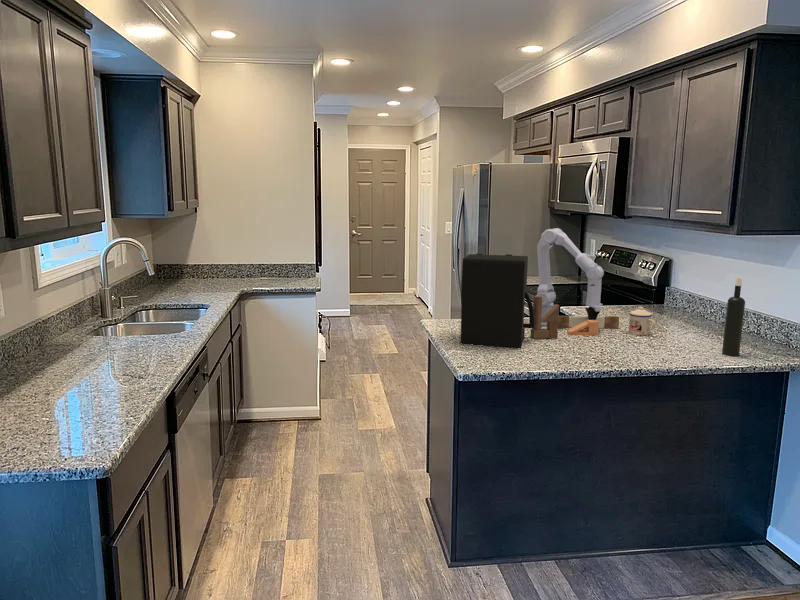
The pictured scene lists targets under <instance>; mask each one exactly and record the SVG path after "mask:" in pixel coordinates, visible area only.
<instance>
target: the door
mask: <svg viewBox="0 0 800 600" xmlns="http://www.w3.org/2000/svg"><path fill="white" fill-rule="evenodd" d="M586 320H588V315H587V316H583V315H582V316H573V315H572V316H570V321H569V328H570V327H571V328H573V327H575V326H577V325H579V324H581V323H583V322H585V321H586ZM596 320H597V321H598V322H599V329H604V323H605V316H597V319H596ZM571 328H570V329H571ZM584 329H586V327H585V328H584Z"/></svg>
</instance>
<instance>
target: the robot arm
mask: <svg viewBox="0 0 800 600" xmlns="http://www.w3.org/2000/svg"><path fill="white" fill-rule="evenodd" d="M554 245H558V246H562V247H564V249H566V251H568V252H569V254H571V255H572V256H573V257H574V259H575V264H576V265H578V266H579V268H580V269H581V270H582V271H583V272H585V276H586V277H587V294H586V301H585V306H586V307H585V308H584V309H585V311H586V314H587V316H588V320H596V319H597V317H599V314H600V312H601V311H602V310H601V307H603V306H604V305H603V303H601V295H602V280H603V279H602V278H603V277H604V275H605V271H604V269H603V267H602V266H600V265H598V263H597V262H596V263H595V261H594V260H593V259H591V255H590V254H587V253H586V252H585V253H582V252H581V250H580V249H579V248H578V247H577V246H576V245H575V244H574V242H573V241H572V240H571V239H570V238H569V236H568V235H567V234H566V233H565V232H564V231H563V230H562V229H561V228H558V227H556V228H547V229H545V230H544V231H543V232H542V233H541V234H540V239H539V241H538V243H537V245H536V253H537V254H536V255H537V267H538V269H537V271H538V281H539V285H538V287H537V293H536V295H539V296H542V316H541V318H542V317H543V316H544V315H545V314H546V313H547V312H548V311H549V310H550V309H551V308H552V307H553V306H554V305H555V304H554V302H555V301H556V299H557V294H556V292H555V289H554V286H553V284H552V276H551V275H552V274H551V261H550V250H551V248H552V247H553V246H554ZM541 326H547V322H541Z"/></svg>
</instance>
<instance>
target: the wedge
mask: <svg viewBox="0 0 800 600" xmlns="http://www.w3.org/2000/svg"><path fill="white" fill-rule="evenodd" d="M585 327H586V328H585ZM599 329H600V328H599V322H598V321H597V320H586V321H585V322H583V323H581V324H579V325H577V326H575V327H573V328H569V329H566V330H567V331H566V332H567V333H566V334H567V335H569V336H570V335H596V336H595V337H598V336H599ZM597 335H598V336H597Z"/></svg>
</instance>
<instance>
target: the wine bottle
mask: <svg viewBox="0 0 800 600" xmlns="http://www.w3.org/2000/svg"><path fill="white" fill-rule="evenodd" d="M742 283H743V276H740V275H738V276H736V277H735V281H734V293H733V296H731V297H729V298H728V299H727V304H726V312H725V313H726V314H725V323H724V330H723V331H724V332H723V341H722V348H721V349H722V351H721V354H722V355H724V356H727V357H739V356H740V352H741V342H742V332H743V325H744V315H745V307H746V300H745V299H744V298H743V297H741V290H742Z"/></svg>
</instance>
